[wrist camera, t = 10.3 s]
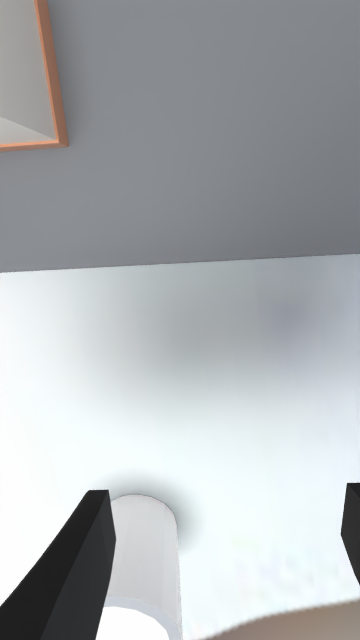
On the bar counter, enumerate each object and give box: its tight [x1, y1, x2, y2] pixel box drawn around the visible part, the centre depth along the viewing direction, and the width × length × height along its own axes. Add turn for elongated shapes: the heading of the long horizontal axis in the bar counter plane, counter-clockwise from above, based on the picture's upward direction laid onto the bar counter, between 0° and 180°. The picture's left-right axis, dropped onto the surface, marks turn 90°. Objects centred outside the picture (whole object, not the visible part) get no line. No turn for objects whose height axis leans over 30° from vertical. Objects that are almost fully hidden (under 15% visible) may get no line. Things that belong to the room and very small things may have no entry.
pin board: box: [0, 0, 360, 273], centre depth 15 cm, size 22×16×2 cm
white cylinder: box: [96, 494, 183, 640], centre depth 22 cm, size 7×7×7 cm
